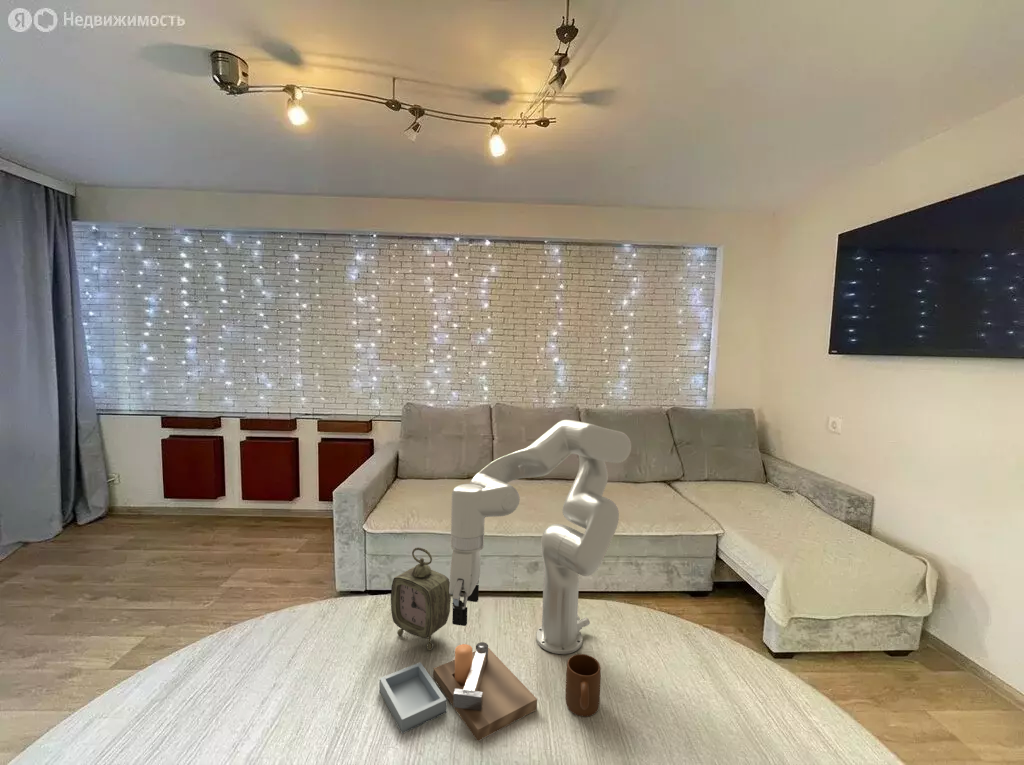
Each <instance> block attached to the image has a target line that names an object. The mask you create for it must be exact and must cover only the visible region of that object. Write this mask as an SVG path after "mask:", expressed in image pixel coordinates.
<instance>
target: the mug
mask: <svg viewBox="0 0 1024 765" xmlns="http://www.w3.org/2000/svg"><path fill="white" fill-rule="evenodd" d="M600 664H601V663H600V662H599V661H598V660H597V659H596V658H595V657H593V656H591V655H589V654H584V653H579V654H578V653H577V654H574V655H572V656H570V657H569V658H568V659H567V663H566V670H565V694H564V695H565V705H566V706H567V708H568V710H569V711H570V712H571V713H573V714H574V715H576V716H580V717H591V716H593V715H596V713H597V712H598V711H599V708H600V703H601V702H600V701H601V684H602V683H601V680H602V677H601V676H602V674H601V672H602V671H601V669H602V668H601V665H600Z"/></svg>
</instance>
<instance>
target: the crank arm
mask: <svg viewBox="0 0 1024 765" xmlns="http://www.w3.org/2000/svg"><path fill="white" fill-rule="evenodd" d="M488 648H489V645H488V643H487V642H483V641H482V642H478V643H476V644H475V651H476V653H475V656H474V659H473V662H472V665H471V668H470V671H469V674H468V677H467V680H466V683H465V686H464V690H463V689H455V691H454V694H453V706H452V707H453V708H454V707H456V708H464V709H471V710H479V711H481V709H482V703H483V692H479V691H478V689H479V685H480V682H481V678H482V675H483V671H484V668H485V664H486V662H487V661H488Z"/></svg>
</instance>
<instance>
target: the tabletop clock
mask: <svg viewBox="0 0 1024 765" xmlns="http://www.w3.org/2000/svg"><path fill="white" fill-rule="evenodd" d="M416 551H421V552H423V553H425V554H427V556H428V557H429V561H425V559H424V558H423V557H422V558H420V559H418V558H417V557H416V556H415V554H414V553H415V552H416ZM411 555H412V558H413V559H414V561H416V563H418V564H416V565H414V567H411V568H409V569H408V570H406V571H404V572H402V573H401V574H399V575H396V576H395V577H393V580H392V582H391V590H390V591H391V592H390V607H391V609H390V610H391V618H392V621H393V624H395V625H396V627H398V628H399V629H398V630H397V635H398V636H399V637H400V636H403V634H404V631H405V632H407V633H408V634H411V635H413V636H416V637H418V638H421V639H428V643H427V644H426V649H427V650H429V651H430V650H433V647H434V645H433V643H432V635H434V634H435V633H436V632H437V631H439V630H440V629H441V628H442V627H444V626H445V625H447V623H448V620H449V616H450V612H451V604H452V602H451V601H452V600H451V599H452V597H451V596H452V595H450V593H449V585H450V578H449V577H447V576H446V575H444V574H443V573H440V572H438V571H436V570H434V569H432V568H431V567H430V566H429V565H430V564H431V563H432V562H433V557H432V554H431V553H430V552H429V551H428V550H427V549H425V548H423V547H415V548H413V550H412V553H411Z"/></svg>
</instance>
